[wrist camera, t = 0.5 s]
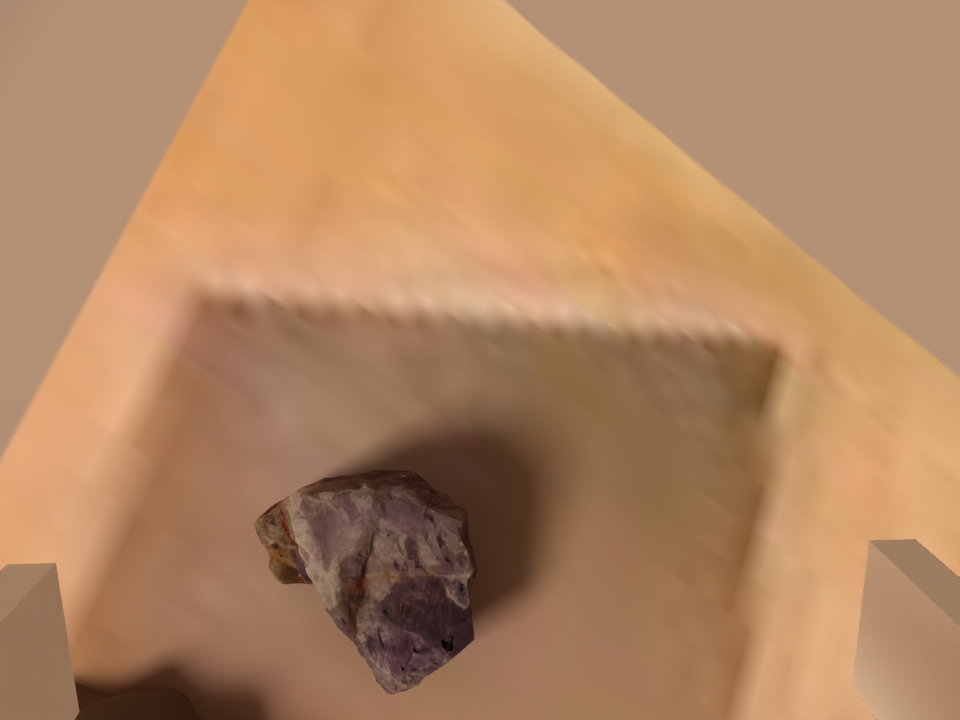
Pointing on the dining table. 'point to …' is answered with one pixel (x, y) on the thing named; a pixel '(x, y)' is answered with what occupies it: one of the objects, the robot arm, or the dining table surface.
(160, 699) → the decorative dome
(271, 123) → the dining table surface
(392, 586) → the rock
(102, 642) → the dining table surface
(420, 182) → the dining table surface
